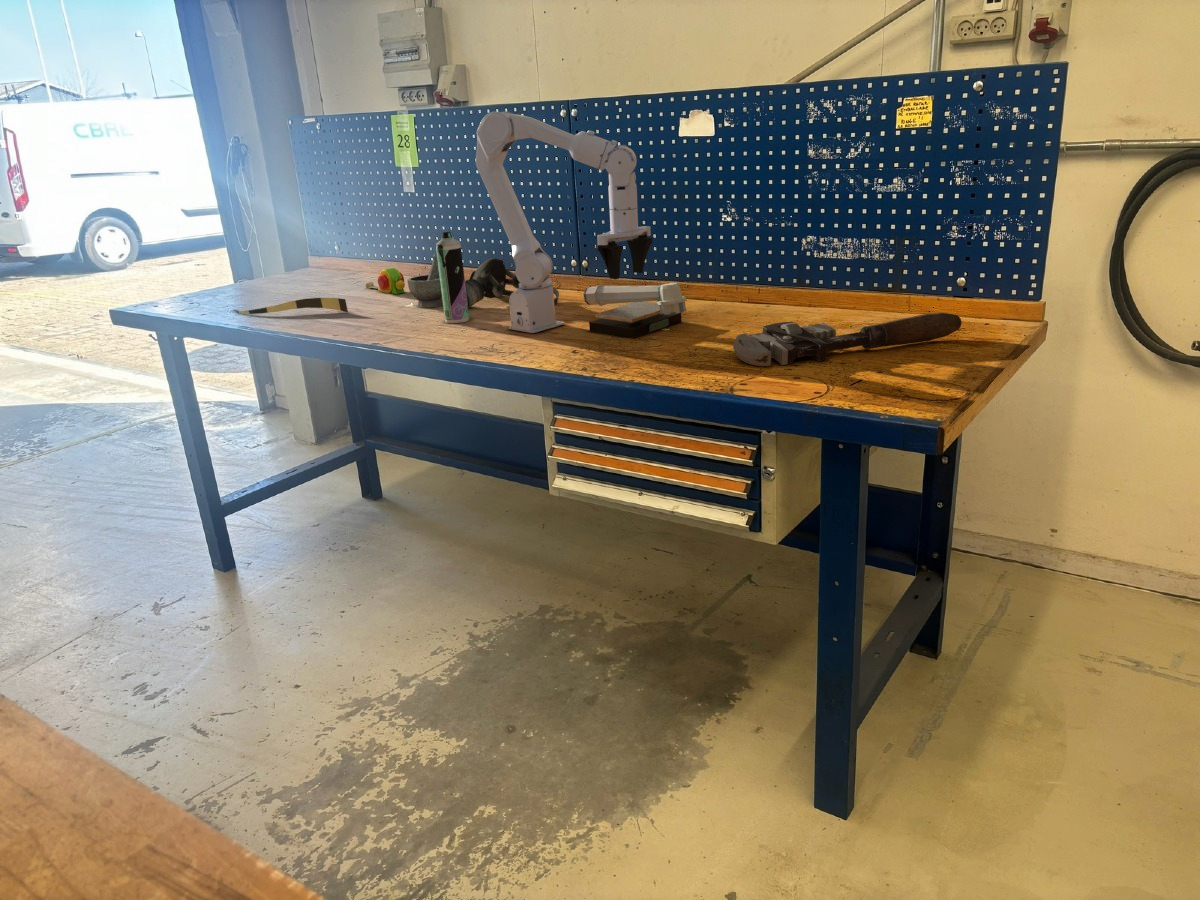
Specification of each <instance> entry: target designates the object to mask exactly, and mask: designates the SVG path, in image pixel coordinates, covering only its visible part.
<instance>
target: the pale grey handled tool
mask: <svg viewBox="0 0 1200 900" xmlns="http://www.w3.org/2000/svg"><path fill="white" fill-rule="evenodd" d="M583 300H584V302H585V303H586V304H587V305H588V306H597V305H598V306H599V307H602V306H606V305H611V304H613V305H614V304H627V303H628V304H629V303H634V302H655V301H656V303H657V305H659V307H660V314H663V313H664V315H666V314H671V312H676V313H681V314H682V313H685V312H687V307H686V302H687V296H683V294H682V289H681V286H680V284H679V282H670V283H669V282H668V283H663V284H661V285H605V284H603V283H602V284H599V285H596V286H589V287H585V289H584V292H583Z"/></svg>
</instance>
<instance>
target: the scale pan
mask: <svg viewBox="0 0 1200 900" xmlns="http://www.w3.org/2000/svg"><path fill="white" fill-rule="evenodd" d="M658 314H660V307H659V305H657V302H650V301H643V302H630V303H628V304H627V303H626V304H624V305H621V306H617V307H614V308H611V309H607V310H605V311H601V312H597V313H595V314H594V315H595V318H596V319H601V318H602V319H609V320H616V321H623V322H630V323H633V322H636V321H639V320H642V319H645V318H649V317H652V316H655V315H658Z"/></svg>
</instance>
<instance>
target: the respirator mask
mask: <svg viewBox="0 0 1200 900" xmlns="http://www.w3.org/2000/svg"><path fill="white" fill-rule="evenodd" d="M507 277H509V278H507ZM519 283H520V282H519V281H518V279H517V277H516V273H514V272H512V271H511V270H509V269H508V268H506V266H505V262H504V260H503V259H500V258H495V257H492V258H489V259H487V260H485V261H483V263H481V264H480V265H479V266H478V267H477V268H476V270H474V271H472V273H471V274H470V276H469V279H465V286H466V295H467V303H468V309H469V308H471V307H472V306H474V305H475V304H477V303H479V302H480V301H483V299H484V298H487V299H494V298H500V297H503V296H507V297H510V295H511V294H512V293H513V292H514V291H513V290H508V289H506V286H507V285H512V287H514V288H515V289H518V288H519ZM553 294H554V295H555V297H554V305H555V304H557V303H558V300H559V297H560V292H559V290H558V289H557V288H556V287H554V286H553Z"/></svg>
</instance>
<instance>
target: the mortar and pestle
mask: <svg viewBox="0 0 1200 900" xmlns="http://www.w3.org/2000/svg"><path fill="white" fill-rule="evenodd" d="M407 286H408V289H409V292H410V294H411V296H412V297H413V298H415V299H416V300H417V302H418V303H417V306H418V308H422V309H430V308H438V307H441V306H443V299H442V291H441V283H440V275H439V267H438V259H437V253H436V254H435V253H434V254H433V255H432V262H431V267H430V269H429V272H428V274H423V275H416V276H412V277H409V278H408V279H407Z"/></svg>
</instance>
